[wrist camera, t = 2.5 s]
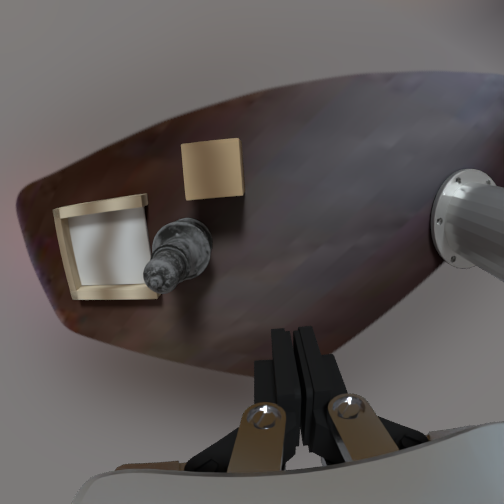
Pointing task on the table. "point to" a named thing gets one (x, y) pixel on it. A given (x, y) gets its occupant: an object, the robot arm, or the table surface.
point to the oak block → (213, 169)
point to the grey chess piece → (177, 254)
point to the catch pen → (105, 248)
